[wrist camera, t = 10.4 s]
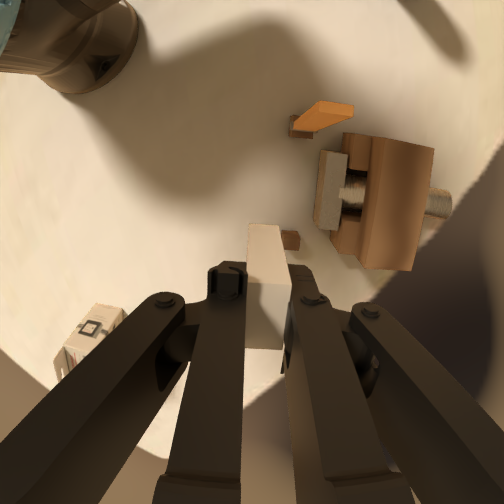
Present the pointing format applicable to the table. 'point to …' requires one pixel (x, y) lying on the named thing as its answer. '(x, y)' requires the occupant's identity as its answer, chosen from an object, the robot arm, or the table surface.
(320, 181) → the pin
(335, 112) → the bar
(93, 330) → the ink box
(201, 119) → the table surface
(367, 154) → the hitch block
